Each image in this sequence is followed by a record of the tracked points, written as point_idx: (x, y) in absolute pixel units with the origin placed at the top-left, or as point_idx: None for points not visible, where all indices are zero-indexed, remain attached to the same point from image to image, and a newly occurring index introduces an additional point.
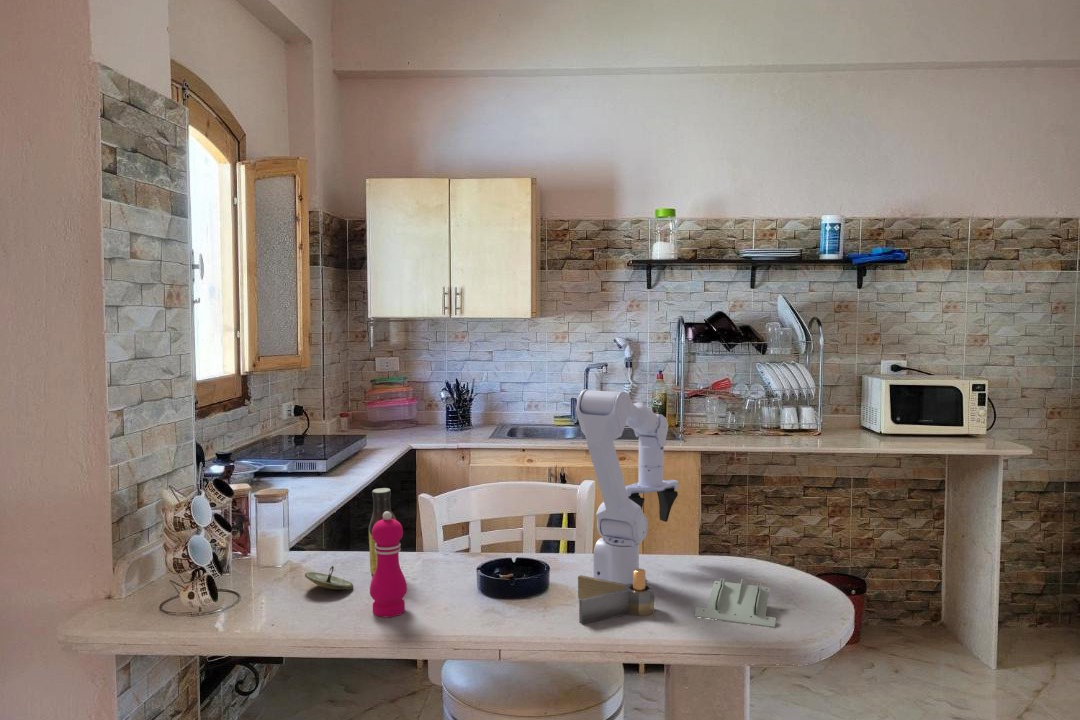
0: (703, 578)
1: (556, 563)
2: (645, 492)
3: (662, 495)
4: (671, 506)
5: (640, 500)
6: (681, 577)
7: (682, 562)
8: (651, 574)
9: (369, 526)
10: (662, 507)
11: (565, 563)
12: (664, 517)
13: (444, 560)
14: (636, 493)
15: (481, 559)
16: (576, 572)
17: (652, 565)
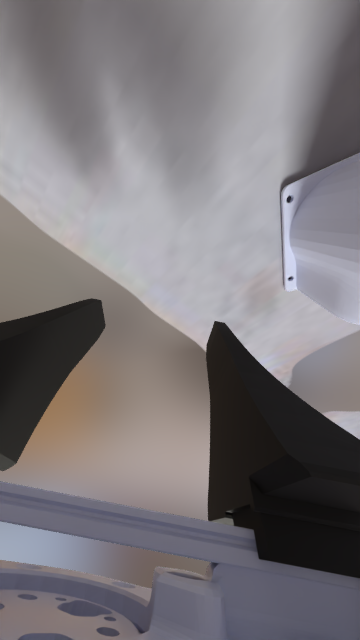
0: (146, 43)
1: (291, 364)
2: (157, 521)
3: (4, 415)
4: (14, 320)
5: (342, 454)
6: (196, 124)
7: (117, 233)
8: (235, 214)
9: None
10: (67, 351)
11: (283, 357)
12: (92, 312)
13: (356, 429)
14: (309, 568)
15: (331, 414)
16: (319, 323)
17: (184, 262)
